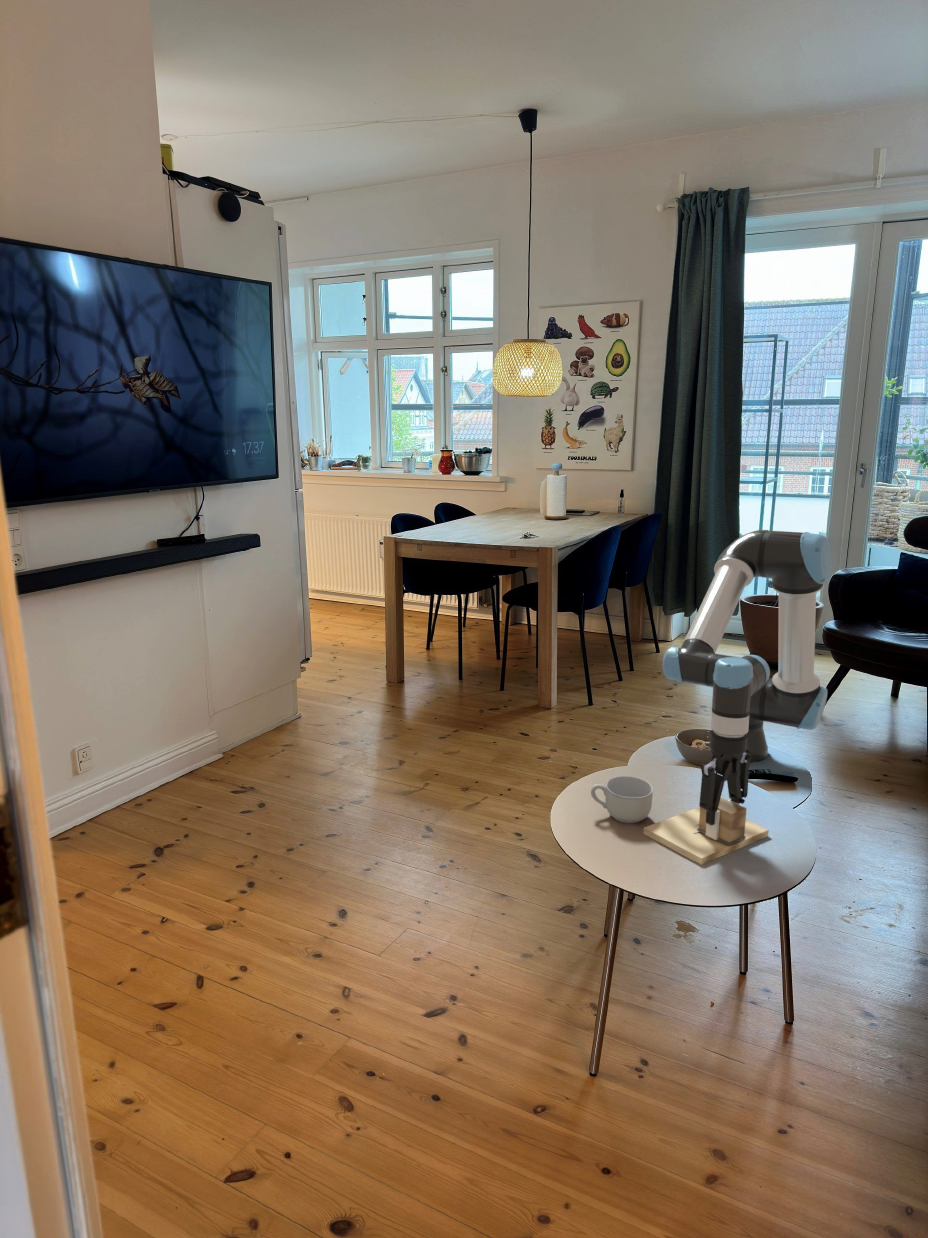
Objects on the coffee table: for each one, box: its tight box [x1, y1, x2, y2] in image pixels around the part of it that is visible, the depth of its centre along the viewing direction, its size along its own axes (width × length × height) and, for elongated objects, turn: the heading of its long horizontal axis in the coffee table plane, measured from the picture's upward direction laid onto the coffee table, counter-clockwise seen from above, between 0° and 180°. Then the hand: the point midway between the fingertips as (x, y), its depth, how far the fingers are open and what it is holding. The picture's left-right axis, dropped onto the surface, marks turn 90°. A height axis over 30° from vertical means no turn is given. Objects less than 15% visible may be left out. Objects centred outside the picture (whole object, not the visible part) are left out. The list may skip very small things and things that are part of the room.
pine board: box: [643, 806, 770, 866], centre depth 178 cm, size 22×16×2 cm
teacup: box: [590, 775, 654, 824], centre depth 186 cm, size 14×11×8 cm
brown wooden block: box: [697, 797, 747, 846], centre depth 174 cm, size 5×8×7 cm, turn 35°
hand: (721, 833), depth 175 cm, fingers closed on brown wooden block, 5 cm apart
